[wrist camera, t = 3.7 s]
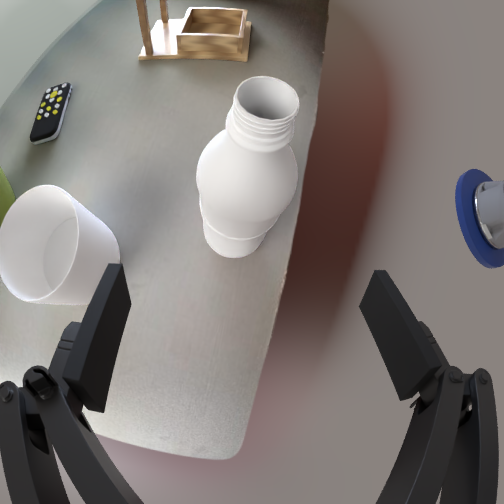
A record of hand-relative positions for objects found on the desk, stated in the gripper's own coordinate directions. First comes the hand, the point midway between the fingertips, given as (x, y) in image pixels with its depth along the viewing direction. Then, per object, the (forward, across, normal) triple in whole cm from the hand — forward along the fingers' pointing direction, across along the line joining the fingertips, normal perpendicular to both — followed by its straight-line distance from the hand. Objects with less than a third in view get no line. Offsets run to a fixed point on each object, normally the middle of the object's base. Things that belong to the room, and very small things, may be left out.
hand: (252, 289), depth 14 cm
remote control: (+36, -33, +6) cm, 49 cm away
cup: (+17, -20, -12) cm, 29 cm away
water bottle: (+20, 0, -9) cm, 22 cm away
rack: (+48, -8, +19) cm, 52 cm away
